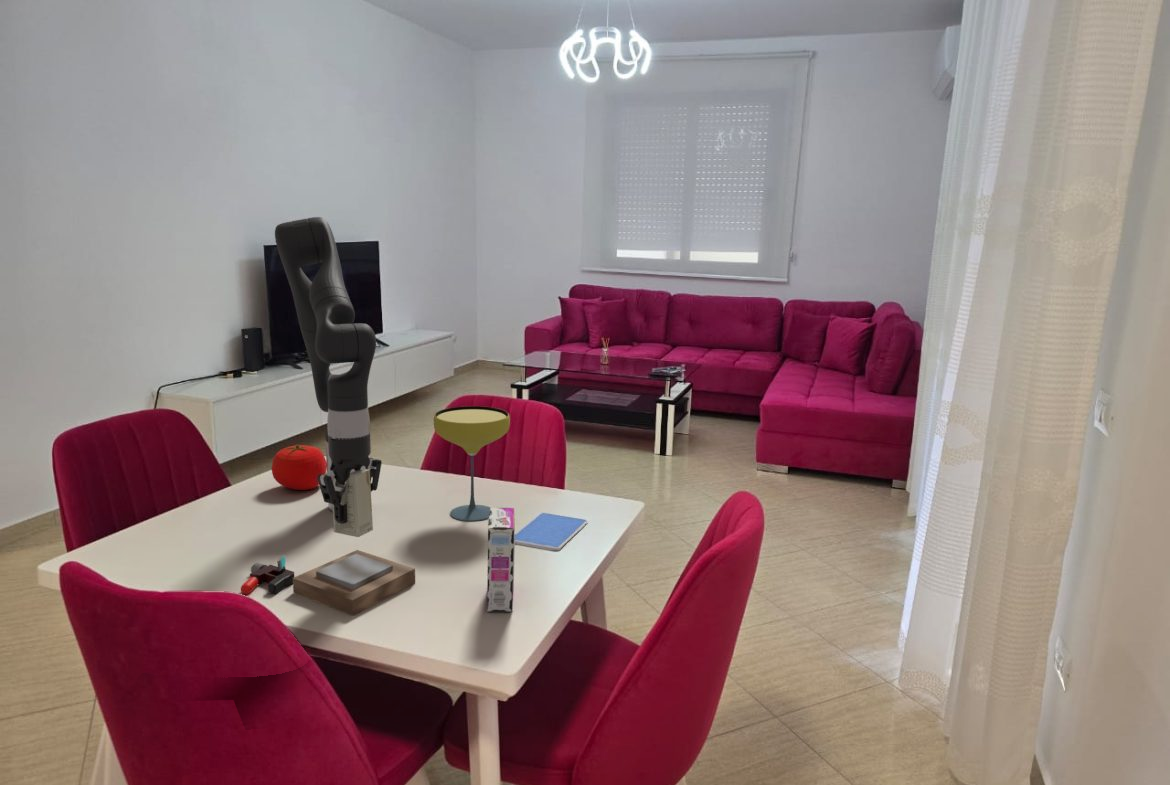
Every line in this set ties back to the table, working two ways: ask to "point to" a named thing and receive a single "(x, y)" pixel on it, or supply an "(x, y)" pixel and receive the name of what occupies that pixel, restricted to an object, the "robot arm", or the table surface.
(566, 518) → the tablet computer
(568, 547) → the table surface
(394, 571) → the walnut plinth
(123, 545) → the table surface
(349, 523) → the skincare box
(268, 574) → the toy gun
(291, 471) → the tomato
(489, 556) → the candy bar box
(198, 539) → the table surface
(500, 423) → the cocktail glass
